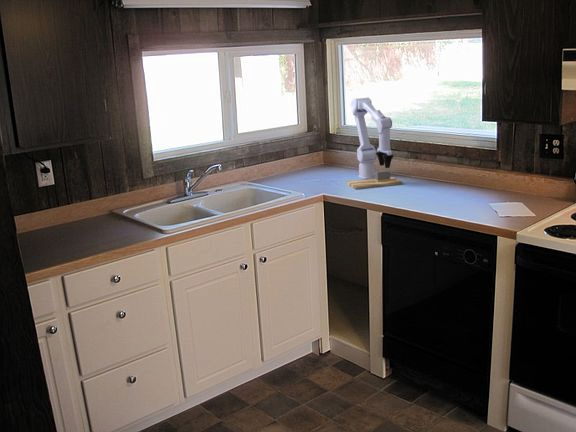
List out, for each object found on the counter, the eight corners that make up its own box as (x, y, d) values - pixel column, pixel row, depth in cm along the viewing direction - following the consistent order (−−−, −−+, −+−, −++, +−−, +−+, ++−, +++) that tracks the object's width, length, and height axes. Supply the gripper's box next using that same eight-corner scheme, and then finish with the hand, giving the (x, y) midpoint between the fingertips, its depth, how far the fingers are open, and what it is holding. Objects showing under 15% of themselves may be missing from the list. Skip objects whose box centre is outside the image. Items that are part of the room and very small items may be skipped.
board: (346, 184, 337) (346, 181, 336) (391, 179, 343) (391, 176, 342) (355, 189, 324) (355, 186, 323) (402, 184, 329) (402, 181, 329)
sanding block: (374, 180, 335) (374, 171, 334) (387, 179, 336) (387, 169, 335) (377, 181, 331) (377, 172, 330) (390, 180, 333) (390, 171, 331)
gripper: (372, 139, 334) (372, 164, 338) (382, 143, 321) (382, 169, 324) (384, 138, 336) (384, 163, 340) (395, 142, 322) (395, 168, 326)
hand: (384, 166), depth 332 cm, fingers open, 7 cm apart
